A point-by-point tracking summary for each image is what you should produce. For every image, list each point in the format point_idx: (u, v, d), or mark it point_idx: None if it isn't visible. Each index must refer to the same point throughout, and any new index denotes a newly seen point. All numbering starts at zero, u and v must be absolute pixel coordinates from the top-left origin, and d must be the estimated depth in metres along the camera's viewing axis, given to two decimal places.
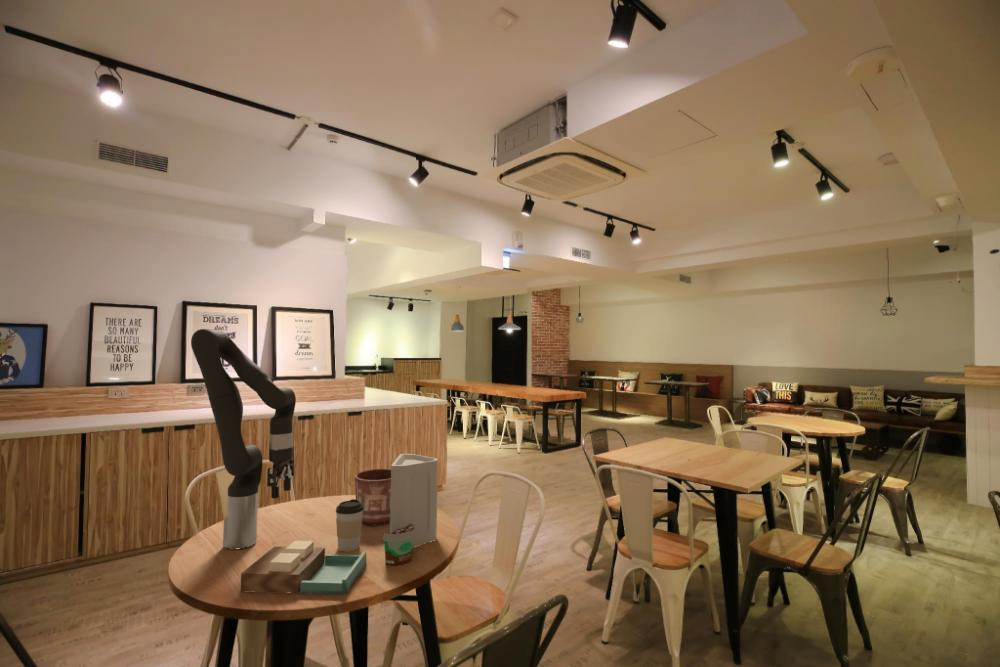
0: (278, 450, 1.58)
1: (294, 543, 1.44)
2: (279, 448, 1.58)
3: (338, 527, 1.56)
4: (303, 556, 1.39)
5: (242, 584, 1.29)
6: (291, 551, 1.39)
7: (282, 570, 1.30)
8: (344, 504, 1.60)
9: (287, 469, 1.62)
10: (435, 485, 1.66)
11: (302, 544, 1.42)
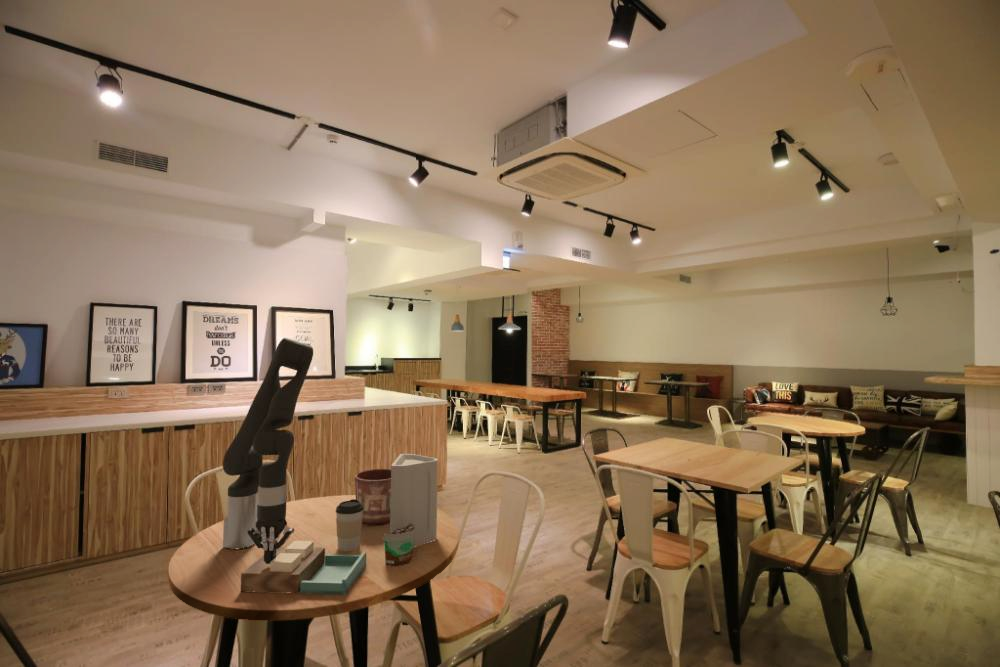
0: None
1: (294, 543, 1.44)
2: None
3: (338, 527, 1.56)
4: (303, 556, 1.39)
5: (242, 584, 1.29)
6: (291, 551, 1.39)
7: (283, 570, 1.30)
8: (344, 504, 1.60)
9: None
10: (435, 485, 1.66)
11: (302, 544, 1.42)
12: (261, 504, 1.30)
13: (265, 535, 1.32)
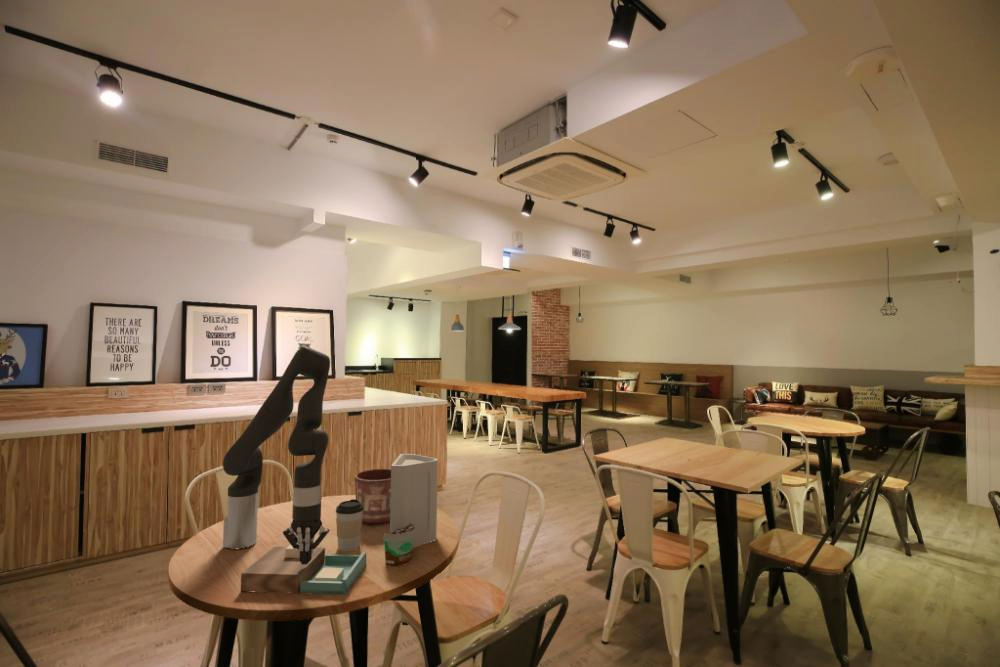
0: (320, 502, 1.34)
1: None
2: None
3: (338, 527, 1.56)
4: None
5: (242, 584, 1.29)
6: (291, 551, 1.39)
7: (322, 579, 1.30)
8: (344, 504, 1.60)
9: None
10: (435, 485, 1.66)
11: None
12: (297, 504, 1.30)
13: (301, 535, 1.32)
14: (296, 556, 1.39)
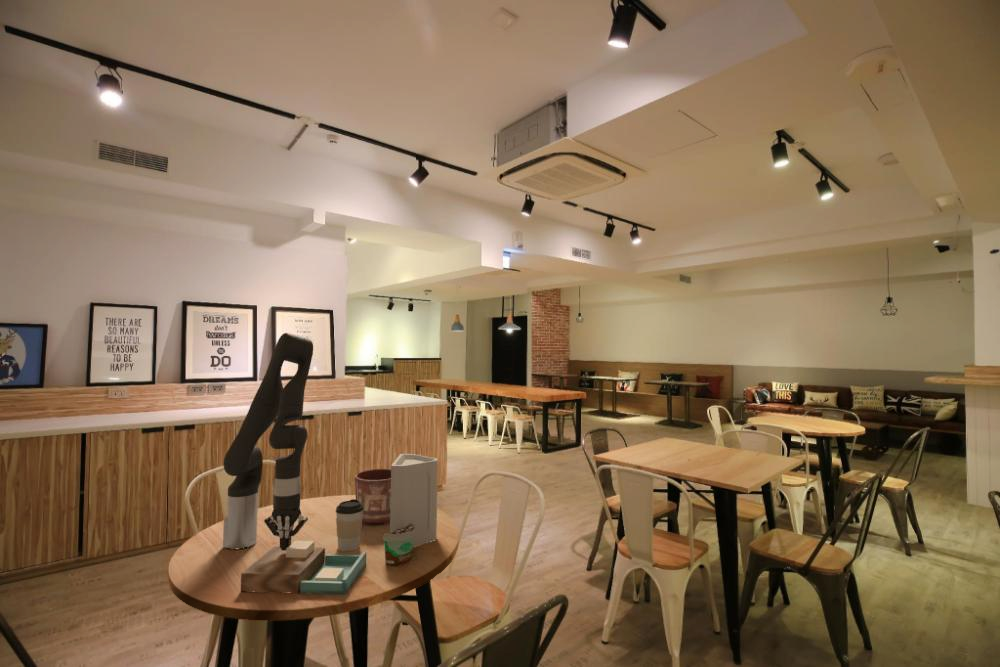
0: None
1: (295, 543, 1.44)
2: None
3: (338, 527, 1.56)
4: (304, 556, 1.39)
5: (242, 584, 1.29)
6: (292, 551, 1.39)
7: (322, 579, 1.30)
8: (344, 504, 1.60)
9: None
10: (435, 485, 1.66)
11: (302, 544, 1.42)
12: (277, 494, 1.39)
13: (281, 523, 1.41)
14: (297, 556, 1.39)
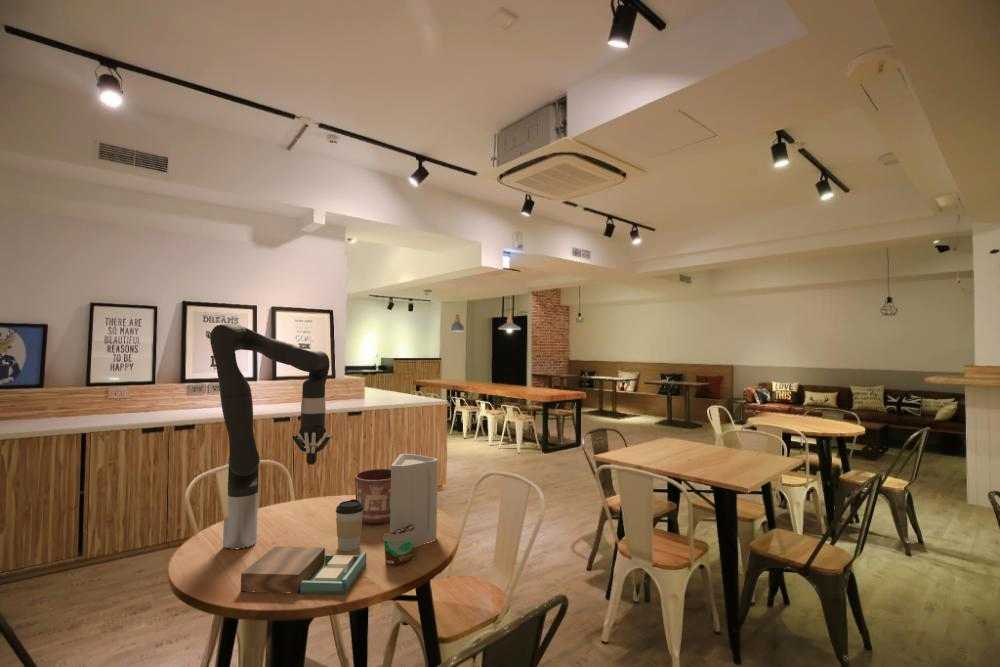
0: None
1: None
2: None
3: (338, 527, 1.56)
4: (328, 565, 1.39)
5: (242, 584, 1.29)
6: None
7: (322, 579, 1.30)
8: (344, 504, 1.60)
9: None
10: (435, 485, 1.66)
11: None
12: (305, 412, 1.52)
13: (308, 439, 1.53)
14: (335, 565, 1.39)
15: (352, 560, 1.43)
